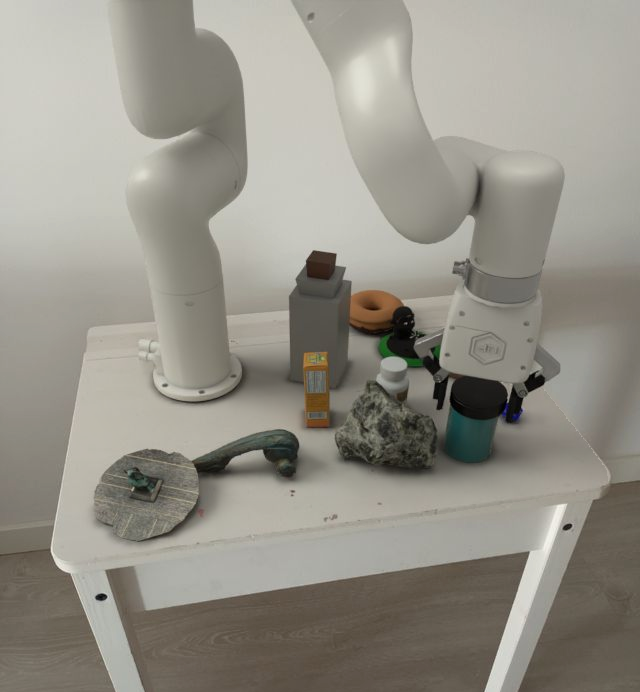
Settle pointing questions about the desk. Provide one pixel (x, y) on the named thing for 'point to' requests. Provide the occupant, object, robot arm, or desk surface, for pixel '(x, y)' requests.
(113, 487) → the sculpture
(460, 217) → the robot arm
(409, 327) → the toy figurine
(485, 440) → the jar
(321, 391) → the supplement box
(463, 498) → the desk surface
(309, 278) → the perfume bottle
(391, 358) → the pill bottle
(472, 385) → the lid
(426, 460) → the rock
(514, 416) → the die
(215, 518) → the desk surface
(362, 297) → the donut
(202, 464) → the decorative handle
